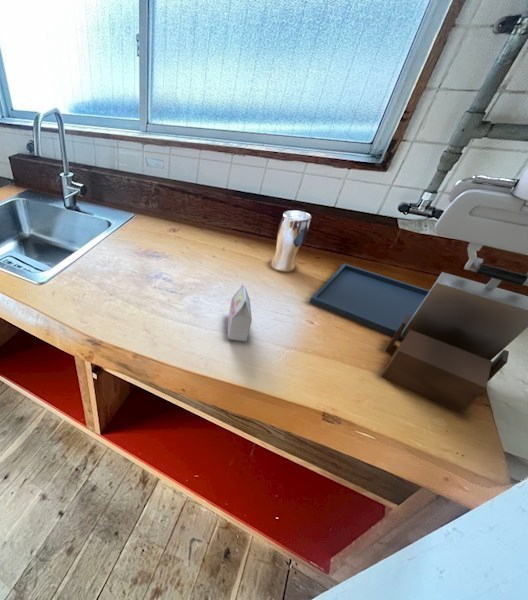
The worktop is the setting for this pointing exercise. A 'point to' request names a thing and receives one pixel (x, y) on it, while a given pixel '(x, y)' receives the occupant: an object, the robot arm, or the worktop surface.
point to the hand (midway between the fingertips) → (497, 276)
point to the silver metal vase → (290, 239)
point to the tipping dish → (473, 312)
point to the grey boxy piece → (239, 316)
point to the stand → (440, 369)
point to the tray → (369, 298)
